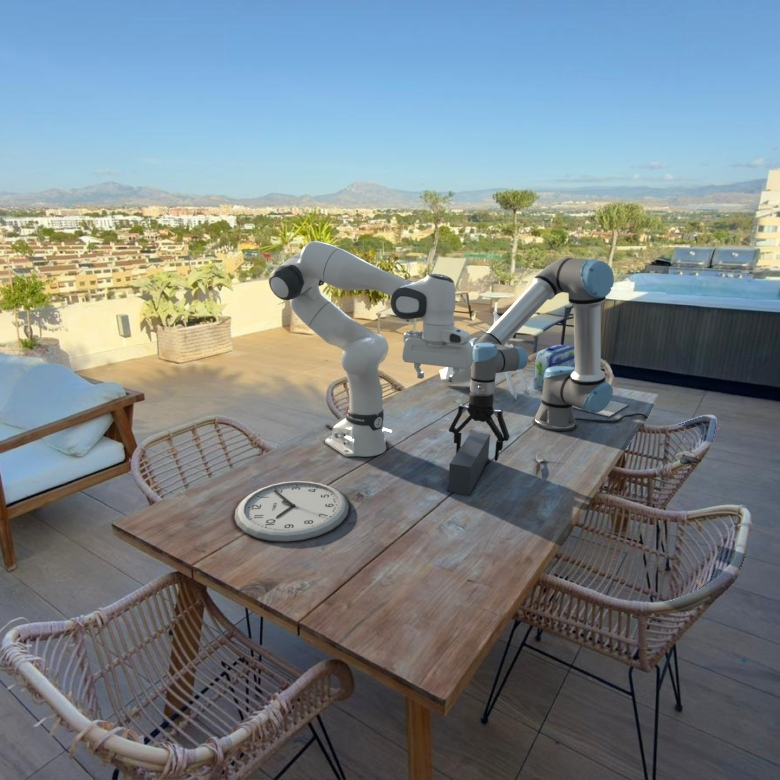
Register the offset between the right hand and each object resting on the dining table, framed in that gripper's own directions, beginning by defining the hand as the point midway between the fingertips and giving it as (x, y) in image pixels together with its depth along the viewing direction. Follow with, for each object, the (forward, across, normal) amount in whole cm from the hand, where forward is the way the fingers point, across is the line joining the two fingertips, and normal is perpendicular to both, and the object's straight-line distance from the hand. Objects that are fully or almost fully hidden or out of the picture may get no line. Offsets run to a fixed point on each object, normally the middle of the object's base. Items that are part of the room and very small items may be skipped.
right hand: (477, 455), depth 171 cm
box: (+2, 0, -10) cm, 10 cm away
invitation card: (+2, +37, +77) cm, 85 cm away
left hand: (-29, -10, -16) cm, 34 cm away
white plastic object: (+2, -16, +75) cm, 77 cm away
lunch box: (+2, +16, +95) cm, 96 cm away
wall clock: (+2, -39, -50) cm, 63 cm away
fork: (+2, +19, +5) cm, 20 cm away
